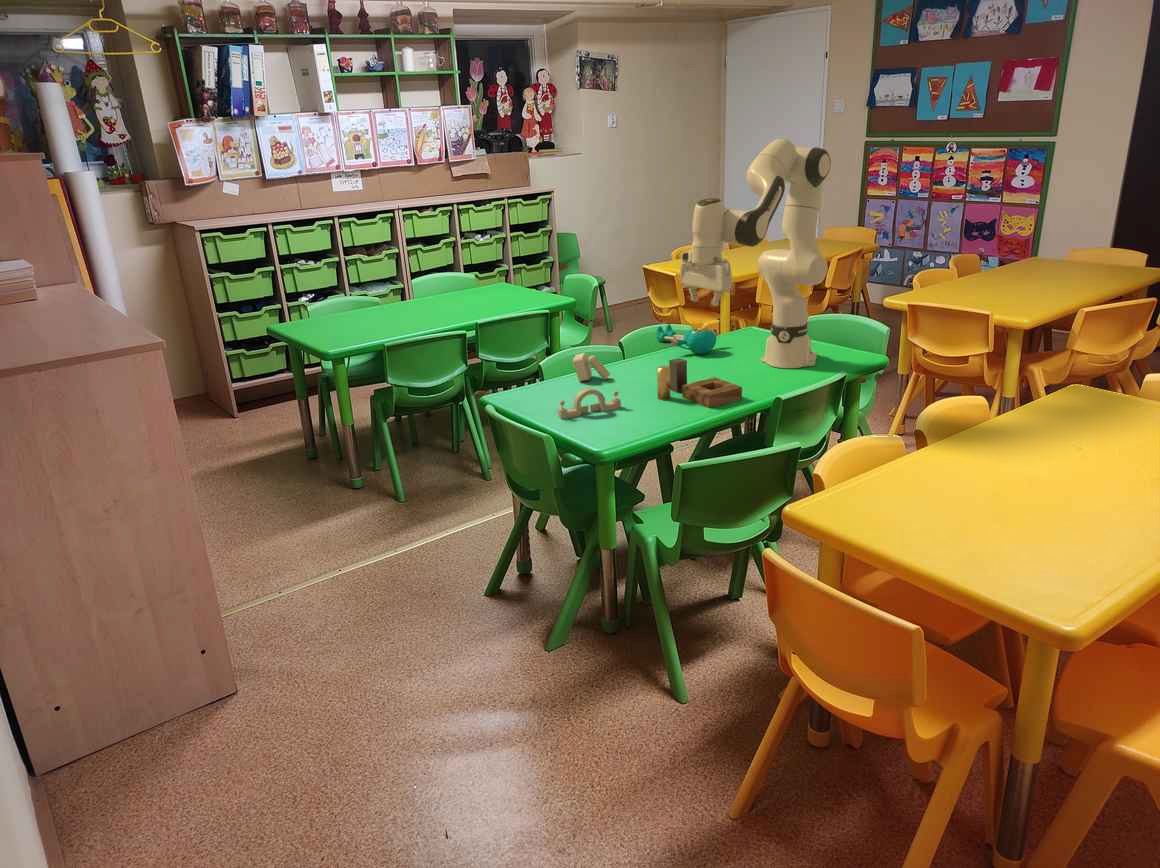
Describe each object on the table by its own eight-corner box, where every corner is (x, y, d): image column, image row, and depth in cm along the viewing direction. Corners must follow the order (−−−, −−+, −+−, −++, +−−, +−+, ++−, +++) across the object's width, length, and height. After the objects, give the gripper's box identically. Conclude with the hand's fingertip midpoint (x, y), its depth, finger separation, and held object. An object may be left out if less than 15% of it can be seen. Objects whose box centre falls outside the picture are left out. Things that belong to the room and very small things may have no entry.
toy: (685, 320, 324) (731, 323, 298) (687, 345, 327) (733, 350, 300) (638, 329, 315) (681, 333, 289) (641, 354, 317) (683, 360, 291)
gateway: (617, 407, 250) (617, 382, 247) (621, 409, 248) (620, 384, 245) (558, 418, 243) (556, 393, 240) (561, 420, 241) (559, 395, 238)
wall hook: (609, 381, 272) (601, 353, 269) (580, 387, 275) (572, 360, 271) (612, 374, 279) (604, 346, 276) (584, 380, 282) (576, 354, 279)
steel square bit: (669, 389, 262) (669, 360, 258) (679, 387, 264) (679, 357, 260) (677, 392, 258) (676, 362, 255) (686, 390, 260) (686, 360, 257)
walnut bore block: (682, 397, 254) (682, 385, 253) (714, 389, 260) (714, 377, 258) (708, 408, 243) (708, 395, 242) (741, 399, 249) (742, 386, 248)
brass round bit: (660, 395, 257) (660, 365, 253) (672, 396, 255) (672, 366, 251) (655, 399, 254) (655, 368, 250) (667, 400, 252) (667, 369, 248)
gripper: (738, 259, 229) (735, 307, 234) (693, 252, 246) (692, 298, 250) (721, 260, 226) (718, 309, 231) (677, 253, 243) (675, 299, 247)
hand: (704, 303), depth 241 cm, fingers open, 8 cm apart
